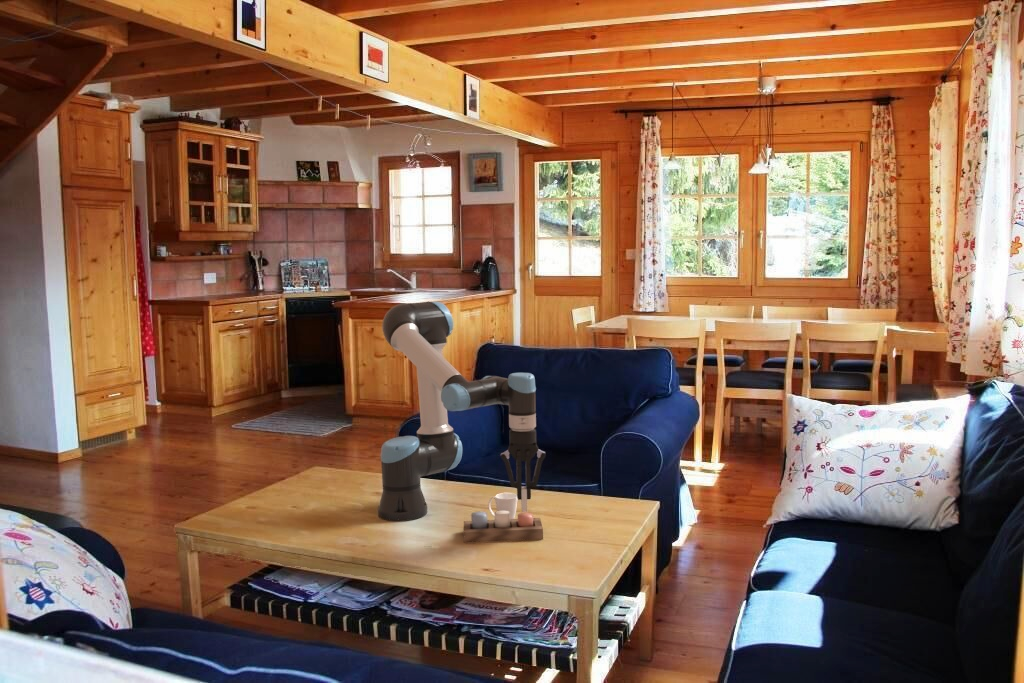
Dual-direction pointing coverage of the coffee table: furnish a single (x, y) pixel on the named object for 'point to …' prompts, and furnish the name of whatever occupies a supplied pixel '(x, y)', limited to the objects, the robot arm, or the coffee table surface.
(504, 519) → the cream rounded knob
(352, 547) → the coffee table surface
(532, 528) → the brown compartment tray
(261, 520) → the coffee table surface
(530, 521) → the pink egg
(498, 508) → the cup
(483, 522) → the blue egg
